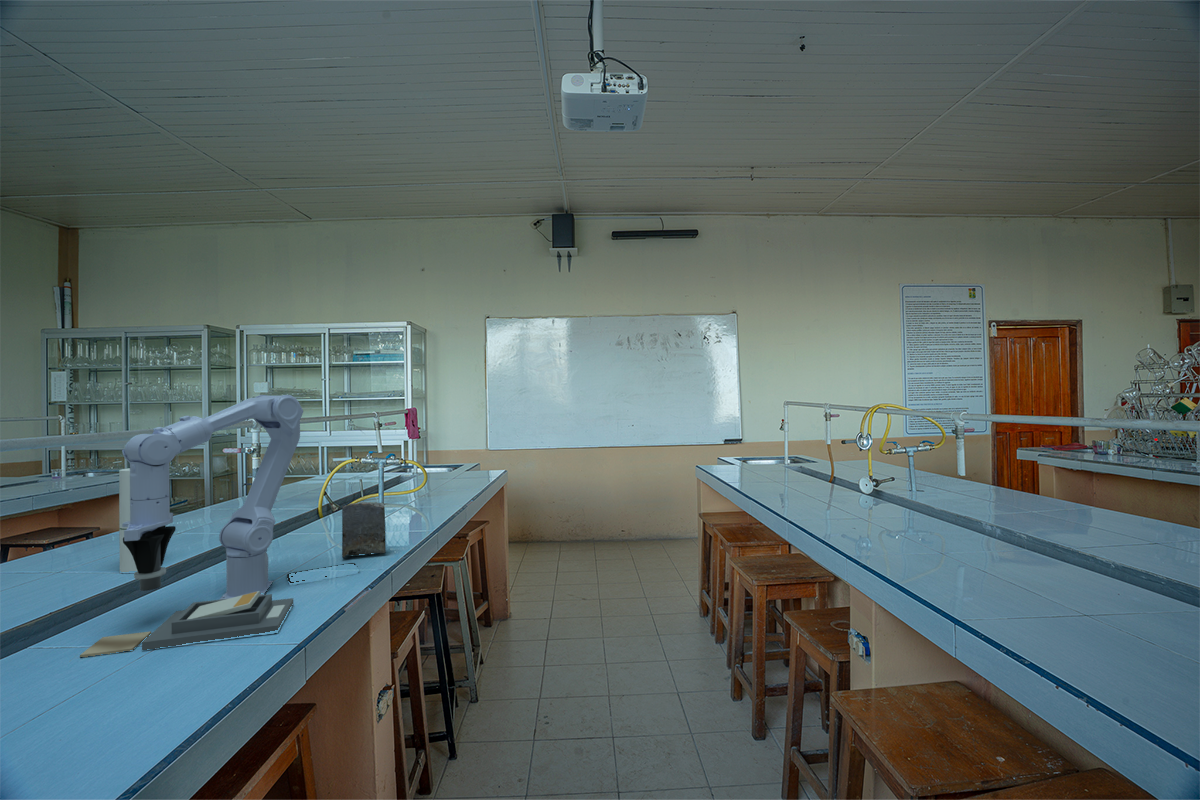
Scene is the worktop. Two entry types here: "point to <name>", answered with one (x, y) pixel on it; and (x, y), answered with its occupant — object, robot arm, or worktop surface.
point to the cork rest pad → (115, 644)
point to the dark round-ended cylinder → (152, 575)
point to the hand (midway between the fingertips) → (150, 569)
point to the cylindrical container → (124, 520)
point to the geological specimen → (363, 528)
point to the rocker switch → (225, 606)
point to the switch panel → (219, 623)
